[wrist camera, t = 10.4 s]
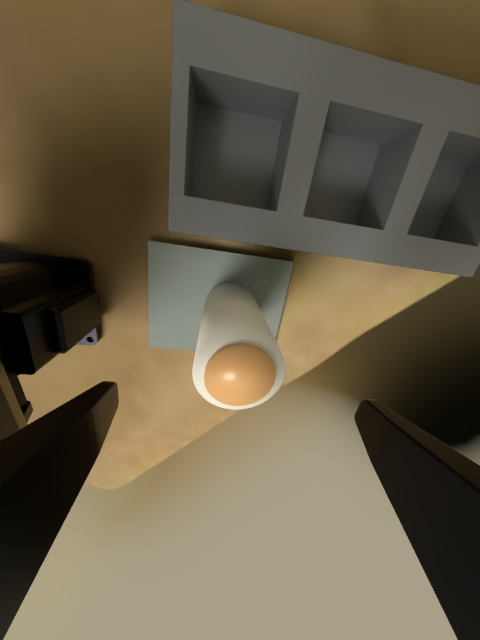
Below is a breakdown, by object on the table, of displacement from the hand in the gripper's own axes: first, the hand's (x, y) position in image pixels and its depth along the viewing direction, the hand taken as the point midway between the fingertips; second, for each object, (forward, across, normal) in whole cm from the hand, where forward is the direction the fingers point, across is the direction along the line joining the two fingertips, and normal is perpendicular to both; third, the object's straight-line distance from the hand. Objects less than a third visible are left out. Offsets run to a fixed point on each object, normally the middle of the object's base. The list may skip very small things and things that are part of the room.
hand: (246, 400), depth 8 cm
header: (+10, -5, -9) cm, 14 cm away
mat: (+10, +1, 0) cm, 10 cm away
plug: (+10, 0, 0) cm, 10 cm away
